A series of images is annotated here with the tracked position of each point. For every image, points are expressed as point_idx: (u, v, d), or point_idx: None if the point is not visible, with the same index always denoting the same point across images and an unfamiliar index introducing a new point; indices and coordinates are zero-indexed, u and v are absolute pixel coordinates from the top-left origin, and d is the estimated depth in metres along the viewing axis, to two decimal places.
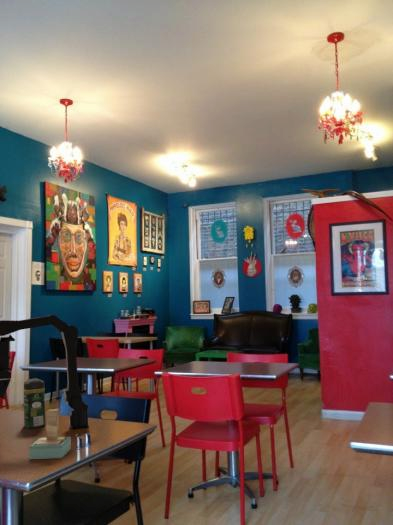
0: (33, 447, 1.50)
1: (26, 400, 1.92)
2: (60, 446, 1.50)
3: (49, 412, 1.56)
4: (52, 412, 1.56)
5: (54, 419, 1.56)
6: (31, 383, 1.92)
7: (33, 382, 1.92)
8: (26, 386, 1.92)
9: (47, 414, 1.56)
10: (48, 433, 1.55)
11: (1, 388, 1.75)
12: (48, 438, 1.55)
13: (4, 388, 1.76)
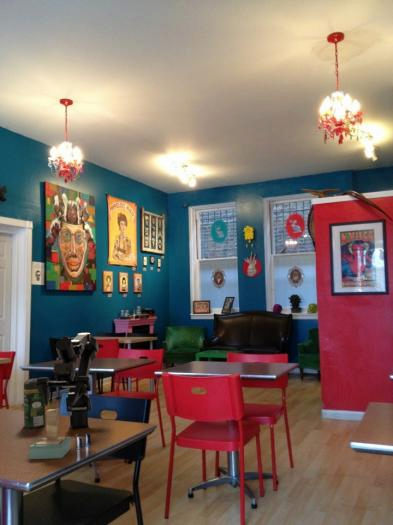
0: (33, 447, 1.50)
1: (26, 400, 1.92)
2: (60, 446, 1.50)
3: (49, 412, 1.56)
4: (52, 412, 1.56)
5: (54, 419, 1.56)
6: (31, 383, 1.92)
7: (33, 382, 1.92)
8: (26, 386, 1.92)
9: (47, 414, 1.56)
10: (48, 433, 1.55)
11: (77, 395, 1.68)
12: (48, 438, 1.55)
13: (78, 397, 1.68)
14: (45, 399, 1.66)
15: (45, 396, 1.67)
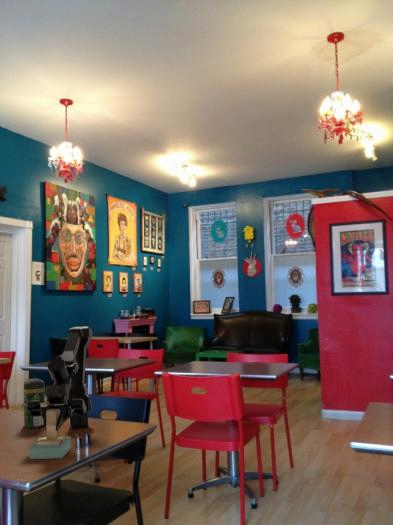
0: (33, 447, 1.50)
1: (26, 400, 1.92)
2: (60, 446, 1.50)
3: (49, 412, 1.56)
4: (52, 412, 1.56)
5: (54, 419, 1.56)
6: (31, 383, 1.92)
7: (33, 382, 1.92)
8: (26, 386, 1.92)
9: (47, 414, 1.56)
10: (48, 433, 1.55)
11: (62, 419, 1.58)
12: (48, 438, 1.55)
13: (62, 422, 1.59)
14: (45, 424, 1.56)
15: (45, 420, 1.57)
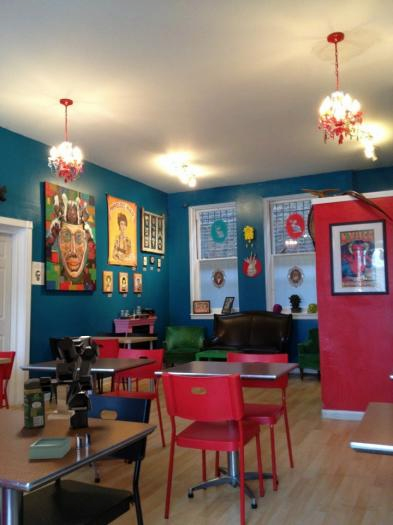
0: (33, 447, 1.50)
1: (26, 400, 1.92)
2: (60, 446, 1.50)
3: (59, 387, 1.68)
4: (62, 387, 1.68)
5: (64, 394, 1.68)
6: (31, 383, 1.92)
7: (33, 382, 1.92)
8: (26, 386, 1.92)
9: (58, 389, 1.68)
10: (59, 407, 1.68)
11: (71, 394, 1.70)
12: (59, 411, 1.67)
13: (72, 397, 1.71)
14: (56, 398, 1.69)
15: (56, 395, 1.69)
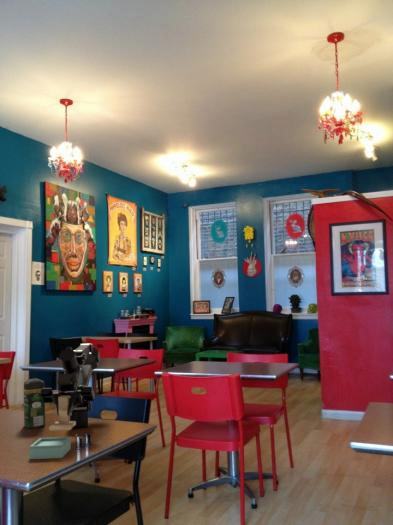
0: (33, 447, 1.50)
1: (26, 400, 1.92)
2: (60, 446, 1.50)
3: (61, 398, 1.69)
4: (64, 398, 1.69)
5: (65, 405, 1.69)
6: (31, 383, 1.92)
7: (33, 382, 1.92)
8: (26, 386, 1.92)
9: (59, 400, 1.69)
10: (60, 417, 1.69)
11: (72, 405, 1.71)
12: (60, 422, 1.68)
13: (73, 408, 1.72)
14: (57, 409, 1.70)
15: (57, 406, 1.70)
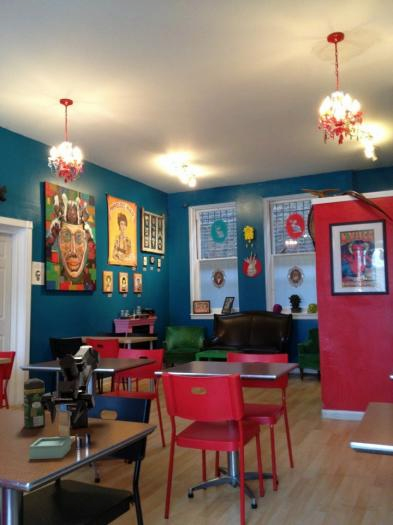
0: (33, 447, 1.50)
1: (26, 400, 1.92)
2: (60, 446, 1.50)
3: (61, 413, 1.69)
4: (64, 413, 1.69)
5: (65, 420, 1.68)
6: (31, 383, 1.92)
7: (33, 382, 1.92)
8: (26, 386, 1.92)
9: (59, 415, 1.69)
10: (60, 433, 1.68)
11: (78, 412, 1.71)
12: None
13: (79, 415, 1.72)
14: (52, 417, 1.69)
15: (52, 414, 1.70)
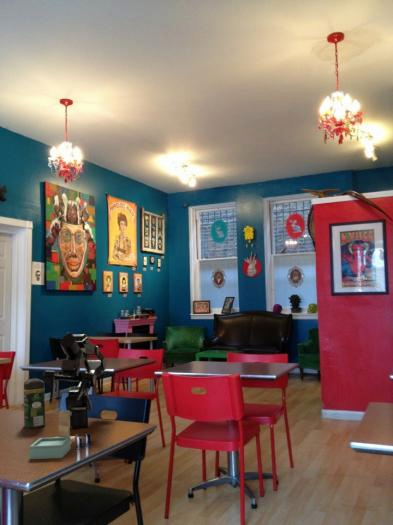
0: (33, 447, 1.50)
1: (26, 400, 1.92)
2: (60, 446, 1.50)
3: (61, 413, 1.69)
4: (64, 413, 1.69)
5: (65, 420, 1.68)
6: (31, 383, 1.92)
7: (33, 382, 1.92)
8: (26, 386, 1.92)
9: (59, 415, 1.69)
10: (60, 433, 1.68)
11: (82, 391, 1.78)
12: None
13: (82, 393, 1.79)
14: (51, 392, 1.76)
15: (51, 389, 1.77)
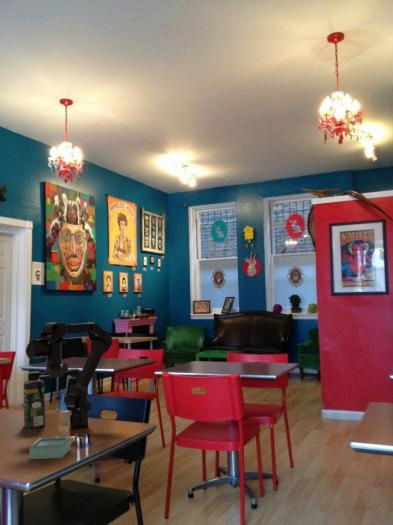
0: (33, 447, 1.50)
1: (26, 400, 1.92)
2: (60, 446, 1.50)
3: (61, 413, 1.69)
4: (64, 413, 1.69)
5: (65, 420, 1.68)
6: (31, 383, 1.92)
7: None
8: (26, 386, 1.92)
9: (59, 415, 1.69)
10: (60, 433, 1.68)
11: (69, 386, 1.84)
12: None
13: None
14: (40, 394, 1.79)
15: (40, 391, 1.79)
